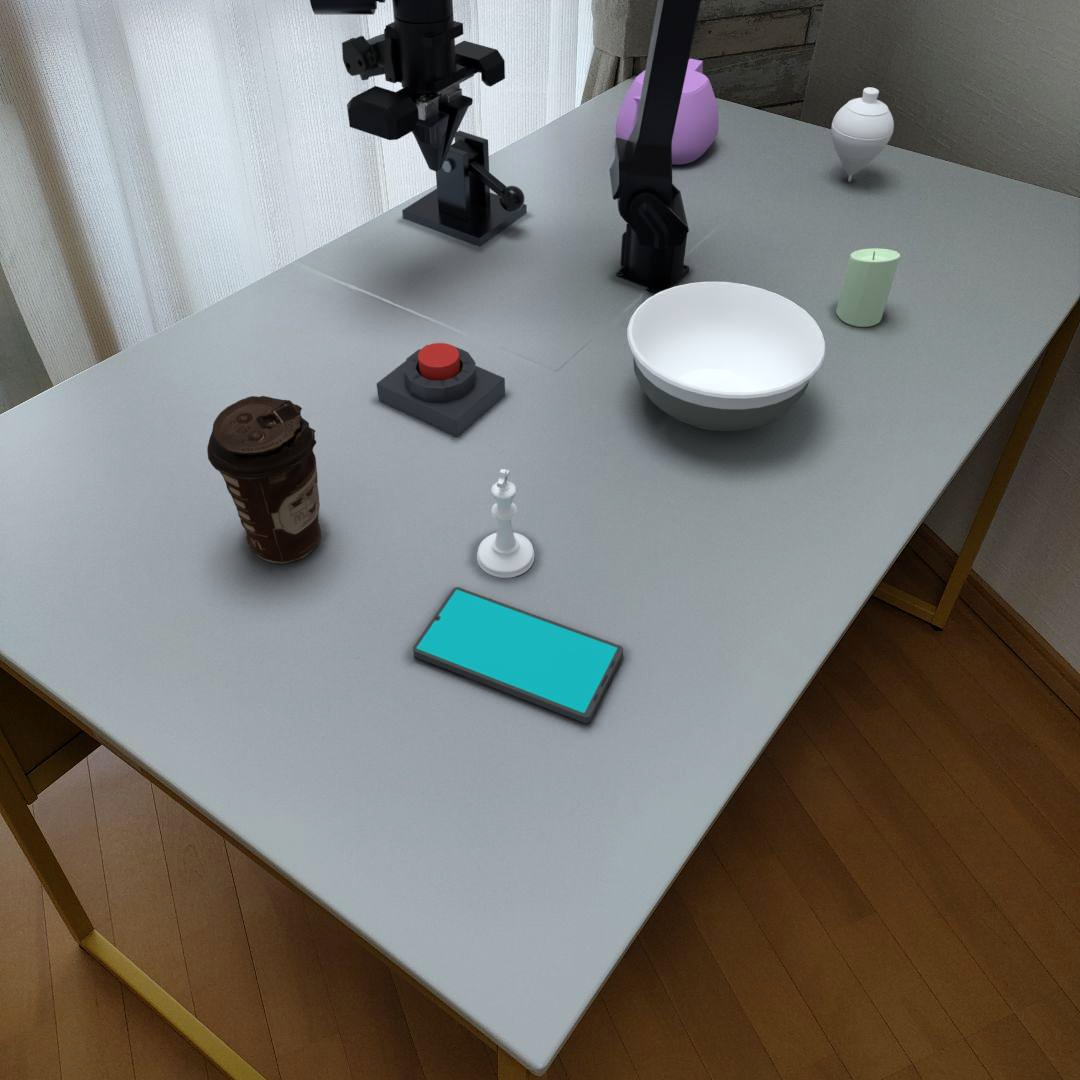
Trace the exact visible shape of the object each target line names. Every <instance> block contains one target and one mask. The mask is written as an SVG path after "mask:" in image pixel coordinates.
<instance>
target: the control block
mask: <svg viewBox="0 0 1080 1080" xmlns="http://www.w3.org/2000/svg"><path fill="white" fill-rule="evenodd" d="M427 345H428V344H425V345H424V346H423V347H425V346H427ZM453 346H454V345H453ZM454 347H455V348H456V349H457V350H458V352H459V359H460V371H459V373H458V374H457V375H456V376H455V377H453V378H449V379H446V380H429V379H427V378H424V377H423V376H422V375H421V374H420V371H419V362H418V353H419V351H420V350H421V349H422V348H419V349H417V350H416V351H414V352H413V353H412V354H410V355H409V356H408V357H406V359H405V361H403V363H401V364H400V365H398V366H397V367H396V368H395V369H393V370H392V371H391V372H390V373H388V374H387V375H386V376H384V377H383V378H382V379H380V380H379V381H378V382H376V390H377V397H378V402H381V403H383V404H385V405H386V406H390V407H391V408H393V409H395V410H397V411H400V412H402V413H404V414H407V415H408V416H410V417H412V418H415V419H417V420H419V421H421V422H423V423H425V424H427V425H430V426H432V427H434V428H436V429H439V430H441V431H443V432H445V433H447V434H449V435H451V436H453V437H456V438H458V437H459V436H461V435H462V434H463V433H465V431H466V430H468V428H470V427H471V426H472V425H474V423H475V422H476V421H478V420H479V419H480V418H481V417H482V416H483V415H484V414H486V413H487V412H488V411H489V410H491V408H492V407H494V406H495V405H496V404H497V403H499V401H501V400H502V399H503V398H504V397H505V396H506V378H505V377H503V376H501V375H499V374H496V373H494V372H492V371H489V370H487V369H484V368H483V367H480V366H478V365H476V361H475V360H474V358H473V357H472V355H471V354H470V353H469V352H468V351H467V350H464V349H462V348H459V347H457V346H454Z"/></svg>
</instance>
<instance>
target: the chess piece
mask: <svg viewBox="0 0 1080 1080" xmlns="http://www.w3.org/2000/svg"><path fill="white" fill-rule="evenodd" d="M510 473H511V470H509V469H505V468H500V471H499V478H498V480H497V482H495V483H494V484H493V485H492V487H491V489H490V490H491V491H490V492H491V495H492V497H493V498H494V500H495V503H494V504H493V505H492V508H491V515H492V517H494V519H497V528H496V532H493V533H492V534H491V533H490V534H489V535H487V536H486V537H485V538H484V539H483V540H482V541H481V542H480V544H479V546H478V547H477V554H476V560H477V563H478V566H479V567H480V569H481V570H482V571H484V572H485V573H487V574H488V575H490V576H492V577H495V578H501V579H502V578H503V579H509V578H514V577H518V576H520V575H522V574H524V573H526V572H527V571H529V569H531V567H532V566H533V564H534V562H535V552H534V547H533V544H532V542H531V541H530V539H528V538H527V537H526V536H524V535H523V534H521V533H519V532H515V531H514V529H513V524H512V519H514V518H515V517H516V516H517V515H518V507H517V505H516V504H515V503H514V502H513V501H514V498H515V496H516V495H517V486H516V485H515V483H513V482H511V481H508V478H509V477H510V475H511V474H510Z"/></svg>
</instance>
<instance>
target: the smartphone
mask: <svg viewBox="0 0 1080 1080" xmlns="http://www.w3.org/2000/svg"><path fill="white" fill-rule="evenodd" d="M412 651H413V656H414V658H417V659H419V660H422V661H425V662H427V663H429V664H432V665H435V666H437V667H440V668H442V669H445V670H447V671H450V672H453V673H455V674H457V675H461V676H462V677H466V678H467V679H471V680H473V681H476V682H477V683H481V684H484V685H486V686H489V687H491V688H494V689H496V690H498V691H501V692H504V693H506V694H509V695H512V696H514V697H517V698H519V699H522V700H525V701H526V702H529V703H532V704H535V705H537V706H540V707H542V708H545V709H548V710H550V711H552V712H555V713H557V714H560V715H563V716H566V717H567V718H570V719H574V720H576V721H578V722H581V723H583V724H588V723H590V722H591V720H592V718H593V717H594V714H595V713H596V710H597V708H598V706H599V705H600V702H601V701H602V698H603V697H604V694H605V692H606V690H607V688H608V686H609V684H610V682H611V681H612V679H613V676H614V675H615V673H616V670H617V668H618V667H619V664H621V663H620V662H621V661H622V658H623V656H624V648H623V646H622V645H620V644H616V643H614V642H611V641H608V640H605V639H603V638H599V637H597V636H594V635H592V634H589V633H586V632H583V631H581V630H577V629H576V628H573V627H569V626H566V625H564V624H562V623H558V622H556V621H552V620H550V619H547V618H545V617H542V616H538V615H536V614H534V613H530V612H528V611H526V610H522V609H519V608H518V607H514V606H511V605H509V604H506V603H503V602H501V601H497V600H494V599H492V598H489V597H487V596H484V595H481V594H478V593H476V592H473V591H470V590H468V589H465V588H462V587H454V588H452V590H451V591H450V593H449V594H448V596H447V597H446V599H445V600H444V602H442V604H441V606H440V608H438V610H437V611H436V613H435V614H434V616H433V617H432V619H430V622H428V625H427V626H426V628H425V629H424V630H423V632H422V634H421V635H420V636H419V637H418V639H417V640H416V642H415V643H414V645H413V647H412Z"/></svg>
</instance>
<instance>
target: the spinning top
mask: <svg viewBox="0 0 1080 1080" xmlns="http://www.w3.org/2000/svg"><path fill="white" fill-rule="evenodd" d="M879 93H880V90H879V89H877V88H875V87H872V86H871V87H869V86H867V87H865V88H864V89H863V90H862V96H861V97H856V98H852V99H850V100H848V101H847V103H845V104H844V105H843V106H841V107H840V109H838V111H837V112H836V113H835V115H834V117H833V119H832V122H831V128H830V132H831V133H830V134H831V139H832V143H833V146H834V150H835V152H836V154H837V156H838V159H839V161H840V163H841V165H842V167H843V169H844V170H845V172H846V173H847V174H848V179H847V181H848V182H852V178H853V176H854V175H856V174H858V173H859V172H860V171H861V170H863V169H864V168H865V167H866V166H867V165H868V164H870V163H871V162H872V161H873V160H874V159H875V158H877V156H878V155H880V153H881V152H882V151H883V150H884V148H885V147H886V146H887V145H888V144H889V142H890V141H891V139H892V136H893V134H894V128H895V123H894V117H893V115H892V113H891V110H890V108H889V107H888V105H887V104H886V103H885V102H883V101H881V100H879V99H878V97H879Z"/></svg>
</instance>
